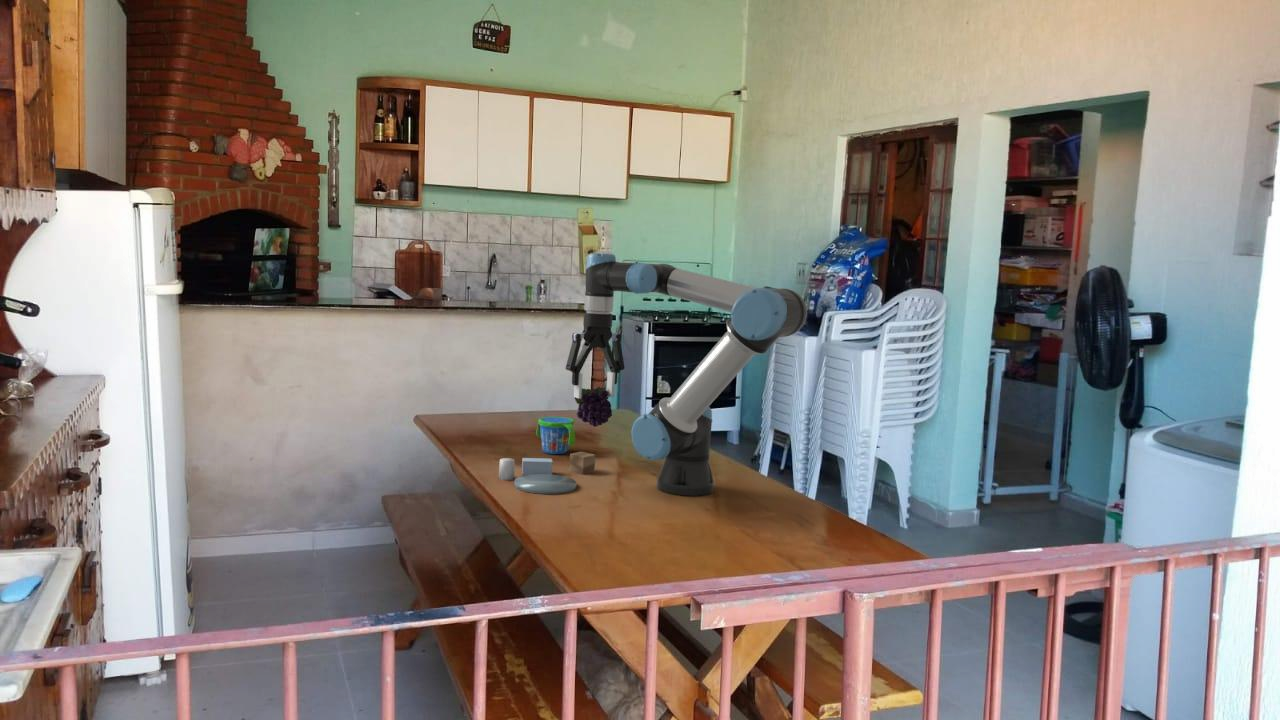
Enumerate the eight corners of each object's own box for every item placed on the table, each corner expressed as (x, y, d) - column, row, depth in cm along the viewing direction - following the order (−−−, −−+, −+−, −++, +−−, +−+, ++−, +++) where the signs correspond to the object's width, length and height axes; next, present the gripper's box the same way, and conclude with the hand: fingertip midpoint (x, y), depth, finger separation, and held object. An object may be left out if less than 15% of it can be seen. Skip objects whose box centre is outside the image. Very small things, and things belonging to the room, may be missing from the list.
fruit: (587, 440, 242) (568, 415, 254) (625, 432, 246) (605, 408, 258) (586, 404, 238) (567, 381, 250) (625, 397, 241) (604, 375, 254)
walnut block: (594, 472, 262) (595, 454, 262) (582, 474, 258) (583, 457, 258) (580, 468, 265) (581, 451, 265) (569, 471, 261) (570, 453, 261)
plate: (587, 490, 241) (587, 486, 241) (531, 496, 233) (531, 491, 232) (558, 476, 255) (558, 472, 254) (504, 481, 246) (504, 476, 246)
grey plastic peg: (516, 479, 249) (517, 460, 248) (502, 480, 247) (503, 462, 246) (510, 475, 252) (510, 457, 252) (496, 477, 250) (497, 458, 249)
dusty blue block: (551, 476, 255) (552, 461, 255) (522, 475, 254) (522, 461, 254) (550, 472, 259) (551, 458, 259) (521, 472, 258) (522, 457, 257)
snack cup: (526, 448, 287) (527, 416, 286) (554, 445, 293) (556, 413, 292) (554, 459, 275) (556, 425, 274) (583, 456, 281) (585, 422, 280)
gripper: (626, 311, 254) (621, 393, 257) (554, 310, 243) (550, 396, 245) (641, 314, 248) (636, 397, 251) (568, 313, 236) (564, 400, 239)
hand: (593, 397), depth 248 cm, fingers closed on fruit, 9 cm apart
